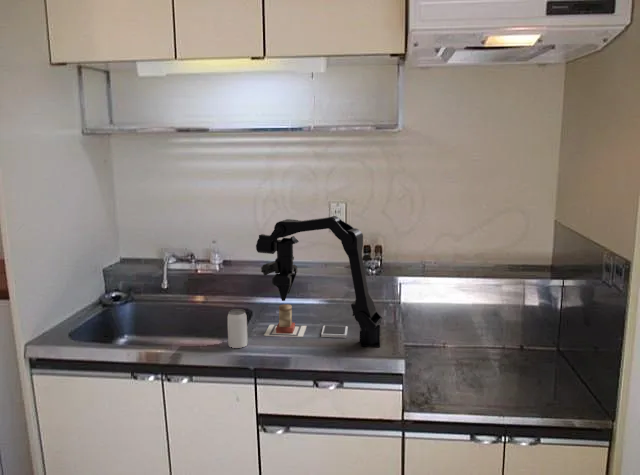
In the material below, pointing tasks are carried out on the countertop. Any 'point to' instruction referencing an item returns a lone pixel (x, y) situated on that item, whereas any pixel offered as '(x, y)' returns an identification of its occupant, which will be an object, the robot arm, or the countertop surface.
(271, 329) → the print sheet
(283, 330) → the stamp
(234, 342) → the can
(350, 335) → the countertop surface
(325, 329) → the ink pad
